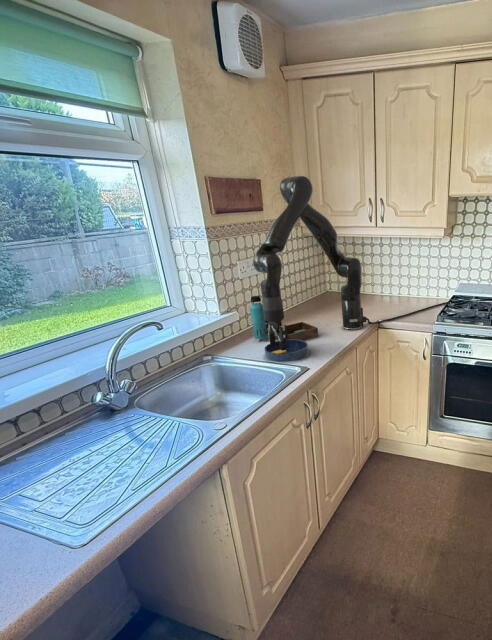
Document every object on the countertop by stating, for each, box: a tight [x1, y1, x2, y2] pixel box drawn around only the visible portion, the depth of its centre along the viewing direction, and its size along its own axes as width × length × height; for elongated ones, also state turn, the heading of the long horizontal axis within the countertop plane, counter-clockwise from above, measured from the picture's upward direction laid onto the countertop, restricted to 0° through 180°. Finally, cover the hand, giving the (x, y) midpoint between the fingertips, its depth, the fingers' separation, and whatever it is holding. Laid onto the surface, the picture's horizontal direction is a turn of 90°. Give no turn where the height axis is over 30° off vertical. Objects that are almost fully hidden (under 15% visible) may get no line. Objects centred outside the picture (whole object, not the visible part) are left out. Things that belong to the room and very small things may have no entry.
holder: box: [274, 321, 319, 341], centre depth 186 cm, size 16×14×5 cm
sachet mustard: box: [272, 350, 287, 353], centre depth 164 cm, size 5×4×2 cm
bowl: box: [264, 339, 310, 363], centre depth 166 cm, size 17×17×4 cm
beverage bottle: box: [249, 295, 269, 340], centre depth 180 cm, size 6×7×20 cm
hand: (278, 347), depth 163 cm, fingers open, 8 cm apart
